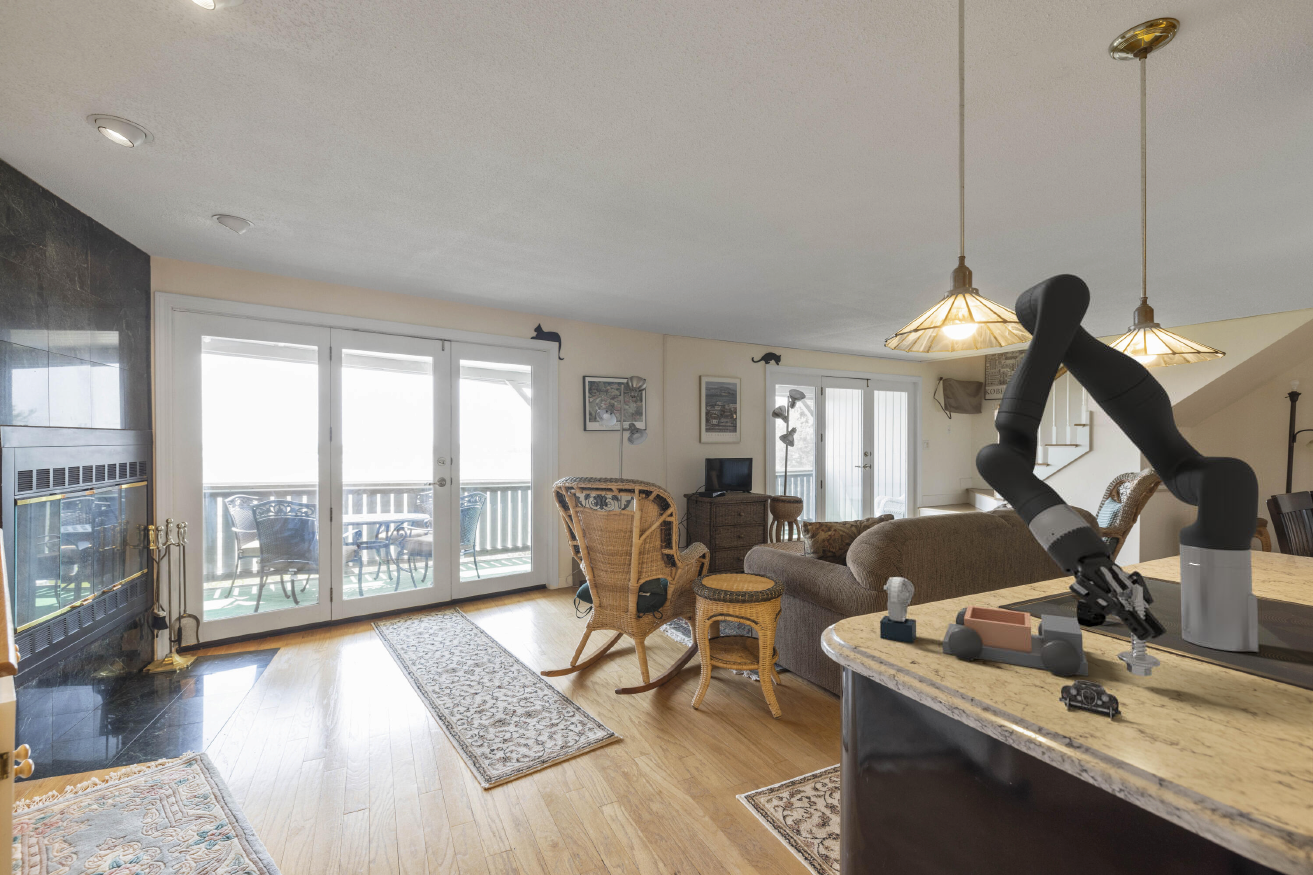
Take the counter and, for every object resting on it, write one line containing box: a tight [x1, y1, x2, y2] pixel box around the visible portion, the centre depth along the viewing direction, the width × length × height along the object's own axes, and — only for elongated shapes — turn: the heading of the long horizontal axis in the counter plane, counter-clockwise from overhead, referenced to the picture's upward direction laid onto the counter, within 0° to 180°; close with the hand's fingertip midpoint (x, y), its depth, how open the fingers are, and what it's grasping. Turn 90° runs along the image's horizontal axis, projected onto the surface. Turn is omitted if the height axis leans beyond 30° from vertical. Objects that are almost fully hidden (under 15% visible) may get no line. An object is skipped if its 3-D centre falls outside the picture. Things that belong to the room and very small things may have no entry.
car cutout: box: [1058, 679, 1122, 718], centre depth 74 cm, size 15×7×4 cm, turn 50°
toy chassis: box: [942, 605, 1089, 677], centre depth 99 cm, size 20×16×6 cm
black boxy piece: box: [1076, 599, 1121, 628], centre depth 117 cm, size 12×7×5 cm, turn 109°
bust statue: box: [879, 576, 917, 644], centre depth 108 cm, size 6×8×11 cm
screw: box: [1117, 584, 1161, 677], centre depth 85 cm, size 13×5×5 cm
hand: (1154, 636), depth 83 cm, fingers closed on screw, 2 cm apart
